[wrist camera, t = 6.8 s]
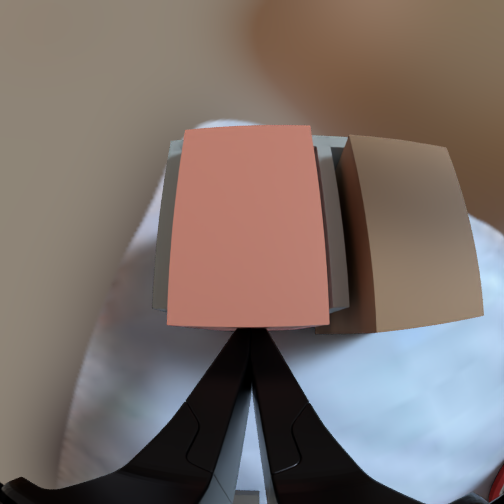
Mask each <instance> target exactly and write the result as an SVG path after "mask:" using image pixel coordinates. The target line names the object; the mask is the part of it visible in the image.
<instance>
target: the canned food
mask: <svg viewBox="0 0 504 504" xmlns="http://www.w3.org/2000/svg"><path fill="white" fill-rule="evenodd" d="M502 494H504V465H503V466H502V468H501V470H500V471H499V473H498V475H497V477H496V479H495V481H494V483H493V485H492V488H491V491H490V494H489V503H490V502H491V501H493V500H494V499H496V498H497V497H499V496H501V495H502Z"/></svg>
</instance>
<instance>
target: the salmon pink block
mask: <svg viewBox="0 0 504 504" xmlns="http://www.w3.org/2000/svg"><path fill="white" fill-rule="evenodd" d="M167 325H170V326H179V327H188V328H198V329H208V330H220V331H235V330H236V329H237V328H266V329H267V330H295V329H303V328H310V327H316V326H323V325H329V298H328V280H327V265H326V251H325V239H324V228H323V218H322V209H321V200H320V191H319V183H318V175H317V168H316V161H315V154H314V147H313V140H312V134H311V128H310V126H305V125H253V126H229V127H214V128H201V129H191V130H185V134H184V141H183V147H182V153H181V160H180V167H179V175H178V182H177V190H176V199H175V208H174V217H173V228H172V239H171V251H170V265H169V282H168V305H167Z"/></svg>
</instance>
